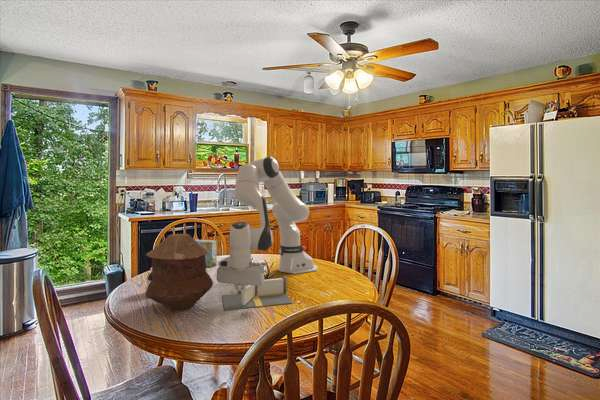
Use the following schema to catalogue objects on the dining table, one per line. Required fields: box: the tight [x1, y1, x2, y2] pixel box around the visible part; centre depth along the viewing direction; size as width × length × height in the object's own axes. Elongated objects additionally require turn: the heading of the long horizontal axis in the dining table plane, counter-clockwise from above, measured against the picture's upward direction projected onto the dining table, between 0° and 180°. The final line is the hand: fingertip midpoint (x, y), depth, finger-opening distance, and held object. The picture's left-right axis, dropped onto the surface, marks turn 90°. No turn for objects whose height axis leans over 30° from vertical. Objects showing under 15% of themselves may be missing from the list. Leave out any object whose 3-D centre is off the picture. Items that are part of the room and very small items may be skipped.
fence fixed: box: [255, 275, 287, 296], centre depth 158 cm, size 15×2×7 cm, turn 106°
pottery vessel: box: [145, 233, 214, 312], centre depth 144 cm, size 26×26×30 cm
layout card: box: [221, 292, 293, 311], centre depth 153 cm, size 28×18×1 cm, turn 106°
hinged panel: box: [241, 285, 255, 305], centre depth 150 cm, size 12×2×6 cm, turn 166°
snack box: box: [193, 238, 218, 268], centre depth 210 cm, size 21×6×15 cm, turn 71°
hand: (240, 294), depth 148 cm, fingers closed
